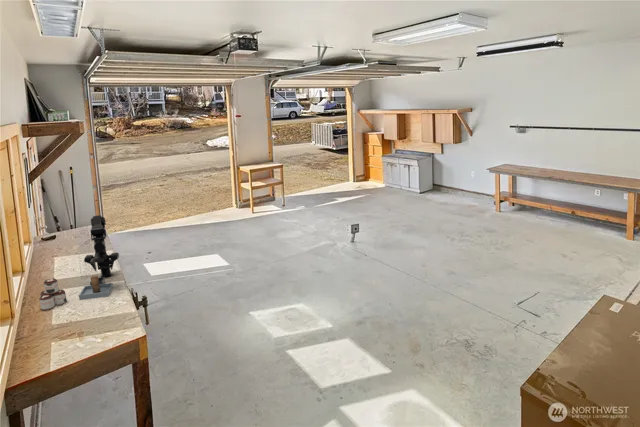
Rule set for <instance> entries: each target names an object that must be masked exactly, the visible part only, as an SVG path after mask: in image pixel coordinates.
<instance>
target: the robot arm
mask: <svg viewBox="0 0 640 427" xmlns="http://www.w3.org/2000/svg"><path fill="white" fill-rule="evenodd" d="M90 225H91V229H90V230H89V231H90V238H91V241H93V242H94V244H93V250H94V254H86V255H85V257H84V258H83V262H84V263H87V264H88V265H91V267H92V268H93V271H94V272H97V270H99V271H100V277H105V278H111V277H112V275H113V273H111V271H112V270H113V268H114V264H115V262H116V261H117V260H118V259H119V257H120V254H119V252H112V253H111V254H108V253H107V246H106V241H105V240H106V237H107V230H106V225H107V222H106V218H105V217H104V216H102V215H93V216H92V217H91V219H90Z"/></svg>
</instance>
